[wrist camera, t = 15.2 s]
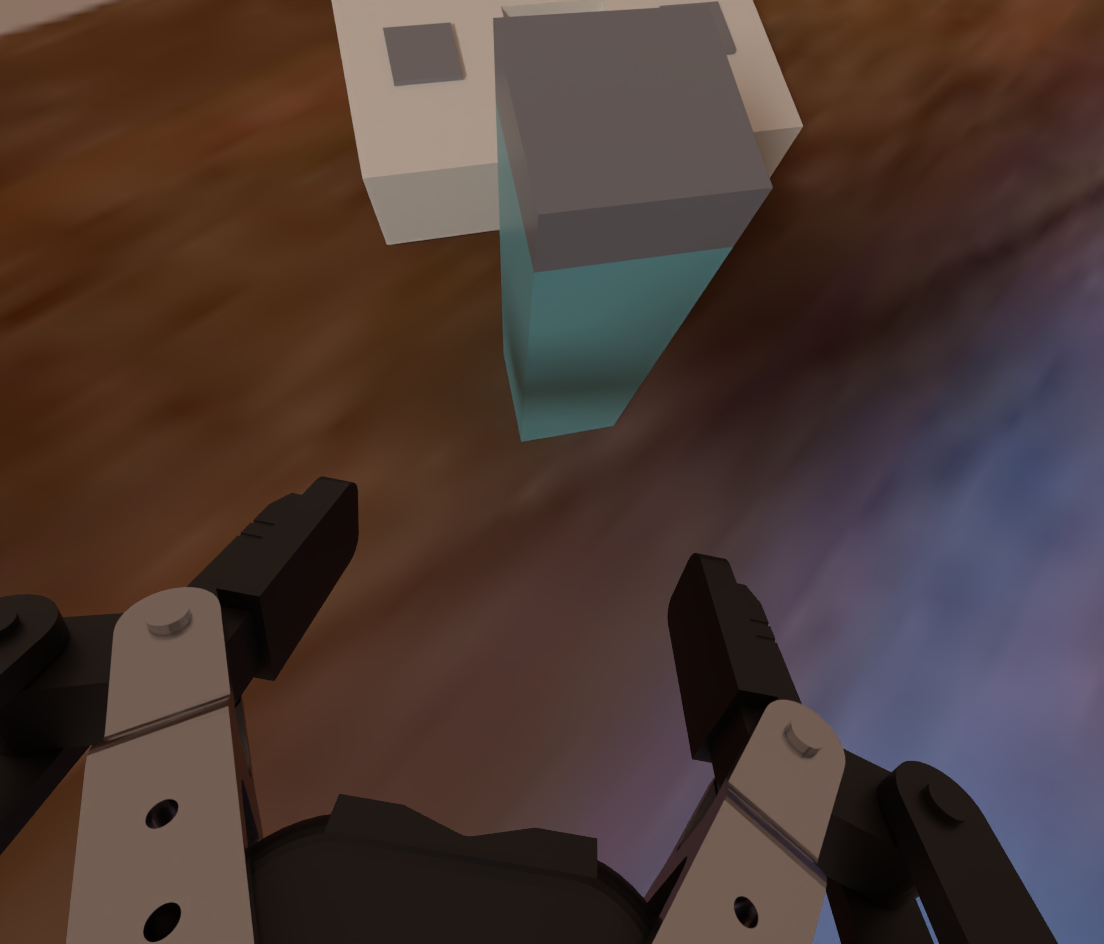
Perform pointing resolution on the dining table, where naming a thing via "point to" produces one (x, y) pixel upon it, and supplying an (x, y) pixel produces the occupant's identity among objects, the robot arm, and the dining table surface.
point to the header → (489, 101)
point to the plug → (611, 199)
